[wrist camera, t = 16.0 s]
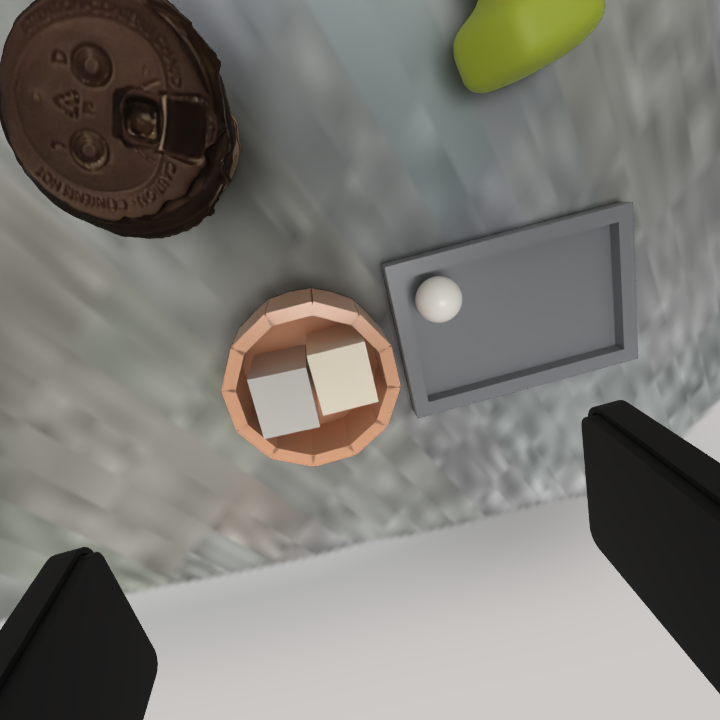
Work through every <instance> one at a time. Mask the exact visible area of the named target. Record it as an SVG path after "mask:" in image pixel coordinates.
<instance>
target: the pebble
mask: <svg viewBox="0 0 720 720" xmlns="http://www.w3.org/2000/svg"><path fill="white" fill-rule="evenodd" d="M415 303H416V308H417V310H418V312H419V313H420V315H421V316H422V317H423V318H425V319H426V320H428V321H430V322H434V323H443V322H447V321H449V320H451V319H452V318H454V317H455V316H456V315H457V314H458V312H459V311H460V309H461V306H462V292H461V290H460V288H459V286H458V285H457V284H456V283H455V282H454V281H453V280H452V279H450V278H447V277H444V276H435V277H431V278H429V279H427V280H425V281H424V282H423V283H422V284H421V285H420V286H419V288H418V290H417V292H416V296H415Z"/></svg>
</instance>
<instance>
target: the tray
mask: <svg viewBox="0 0 720 720" xmlns="http://www.w3.org/2000/svg"><path fill="white" fill-rule="evenodd" d="M381 267H382V272H383V276H384V281H385V285H386V290H387V294H388V299H389V303H390V308H391V312H392V317H393V321H394V326H395V330H396V335H397V339H398V344H399V348H400V353H401V357H402V362H403V366H404V371H405V375H406V380H407V384H408V389H409V393H410V398H411V402H412V407H413V410H414V412H415V414H416V416H417V418H421V417H424V416H428V415H432V414H435V413H439V412H443V411H446V410H450V409H454V408H457V407H461V406H465V405H468V404H472V403H476V402H479V401H483V400H487V399H490V398H494V397H498V396H501V395H505V394H509V393H512V392H516V391H520V390H523V389H527V388H531V387H534V386H538V385H542V384H545V383H549V382H553V381H556V380H560V379H564V378H567V377H571V376H575V375H579V374H582V373H586V372H590V371H593V370H597V369H601V368H604V367H608V366H612V365H615V364H619V363H623V362H626V361H630V360H634V359H637V358H638V343H637V312H636V280H635V249H634V218H633V202H615V203H612V204H608V205H604V206H600V207H596V208H593V209H589V210H585V211H581V212H577V213H573V214H570V215H566V216H562V217H558V218H554V219H550V220H547V221H543V222H539V223H535V224H531V225H528V226H524V227H520V228H516V229H512V230H508V231H505V232H501V233H497V234H493V235H489V236H485V237H482V238H478V239H474V240H470V241H466V242H463V243H459V244H455V245H451V246H447V247H443V248H440V249H436V250H432V251H428V252H424V253H420V254H417V255H413V256H409V257H405V258H401V259H398V260H394V261H390V262H386V263H382V264H381ZM435 276H444V277H447V278H450V279H452V280H453V281H454V282H455V283H456V284H457V285H458V286H459V288H460V290H461V292H462V306H461V309H460V311H459V312H458V314H457V315H456V316H455V317H454V318H452V319H451V320H449V321H447V322H443V323H434V322H430V321H428V320H426V319H425V318H423V317H422V316H421V315H420V313H419V312H418V310H417V308H416V303H415V296H416V292H417V290H418V288H419V286H420V285H421V284H422V283H423V282H424V281H425V280H427V279H429V278H431V277H435Z"/></svg>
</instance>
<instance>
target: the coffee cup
mask: <svg viewBox="0 0 720 720" xmlns="http://www.w3.org/2000/svg"><path fill="white" fill-rule="evenodd" d="M220 67H221V61H220V60H219V59H218V58H217V56H216V53H215V52H214V51H213V50H212V49H211V48H210V47H209V46H208V44H207V43H206V42H205V41H204V40H203V38H202V37H201V36H200V35H199V33H198V32H197V31H196V30H195V29H194V28H193V26H192V22H191V21H190V20H189V19H187V18H186V17H185V16H184V15H183V14H182V13H180V12H179V11H178V9H177V8H176V7H175V6H174V5H173V4H171V3H170V2H169V1H168V0H35V1H34V2H32V3H31V4H30V5H29V6H28V7H27V8H26V9H25V10H24V11H23V12H22V13H21V14H20V15H19V16H18V17H17V18H16V20H15V22H14V24H13V27H12V29H11V31H10V33H9V35H8V37H7V39H6V42H5V45H4V48H3V54H2V57H1V62H0V122H1V125H2V128H3V131H4V134H5V137H6V139H7V141H8V143H9V145H10V146H11V148H12V150H13V152H14V154H15V157H16V159H17V161H18V163H19V164H20V165H21V166H22V168H23V170H24V172H25V173H26V175H27V176H28V177H29V178H30V179H31V180H32V181H33V182H34V184H35V185H36V186H37V187H38V189H39V190H40V191H41V192H42V193H43V194H44V195H45V196H46V197H47V198H48V199H49V200H50V201H52V202H53V203H54V204H55V205H56V206H58V207H59V208H61V209H62V210H63V211H65V212H67V213H69V214H71V215H72V216H74V217H76V218H79V219H81V220H84V221H86V222H88V223H90V224H93V225H95V226H97V227H100V228H103V229H105V230H108V231H110V232H112V233H114V234H117V235H120V236H123V237H140V238H146V239H153V238H165V237H171V236H173V235H177V234H180V233H182V232H185V231H188V230H190V229H191V228H192V227H195V226H197V225H199V224H200V223H201V222H202V220H203V219H204V218H205V217H207V216H211V215H213V214H214V212H215V210H214V206H215V204H216V203H217V201H218V200H219V196H220V195H221V194H222V192H223V191H224V190H225V188H226V187H227V185H228V184H229V183H230V182H231V179H232V176H233V174H234V172H235V170H236V168H237V163H238V158H239V154H240V149H241V144H240V140H239V131H238V123H237V121H236V119H235V118H234V117H233V115H232V114H231V112H230V108H229V104H228V101H227V97H226V94H225V88H224V84H223V81H222V78H221V75H220V73H219V71H220Z"/></svg>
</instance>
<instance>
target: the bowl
mask: <svg viewBox="0 0 720 720" xmlns="http://www.w3.org/2000/svg"><path fill="white" fill-rule="evenodd" d="M344 324H348V325H352V326H353V327H354V328H355V329H356V330H357V331H358V332H359V333H360V334H361V335H362V336H363V338H364V341H365V344H366V349H367V353H368V358H369V362H370V366H371V371H372V375H373V379H374V384H375V388H376V393H377V397H378V401H379V402H376V403H372V404H368V405H364V406H360V407H356V408H352V409H348V410H344V411H340V412H336V413H332V414H328V415H324V416H323V413H322V410H321V406H320V403H319V399H318V408H319V419H320V427H317V428H313V429H308V430H304V431H299V432H295V433H290V434H286V435H281V436H277V437H272V438H268V439H264V437H263V433H262V430H261V427H260V423H259V420H258V416H257V413H256V409H255V406H254V402H253V399H252V395H251V392H250V389H249V385H248V382H247V379H248V375H249V371H250V367H251V363H252V360H253V356H254V355H257V354H261V353H266V352H271V351H276V350H280V349H285V348H290V347H294V346H299V345H304V344H305V346H306V334H308V333H312V332H316V331H320V330H324V329H328V328H332V327H336V326H340V325H344ZM315 389H316V388H315ZM399 391H400V381H399V377H398V373H397V368H396V364H395V359H394V355H393V351H392V346H391V345H390V343H389V341H388V339H387V338H386V336H385V334H384V333H383V331H382V329H381V327H380V326H379V325H378V324H377V323H376V322H375V321H374V320H373V319H372V318H371V317H370V316H369V315H368V314H367V312H366V311H365V310H363V309H362V308H361V307H360V306H359V305H358V304H357V303H356V302H355V301H354V300H352V299H351V298H348V297H344V296H342V295H340V294H337V293H334V292H330V291H325V290H319V289H314V288H311V289H310V288H307V289H302V290H295V291H290V292H287V293H284V294H281V295H279V296H277V297H273V298H269V300H267V301H266V302H265V303H264V304H263V305H262V306H260V307H259V308H258V309H257V310H256V311H255V312H254V313H253V314H252V315H251V316H250V317H249V319H248V320H247V321H246V322H245V323H244V324H243V325H242V326H241V327H240V328H239V330H238V332H237V335H236V337H235V339H234V342H233V344H232V347H231V349H230V354H229V358H228V363H227V367H226V372H225V376H224V381H223V385H222V394H223V397H224V400H225V402H226V405H227V408H228V410H229V413H230V416H231V418H232V421H233V424H234V426H235V429H236V431H237V430H238V431H237V432H238V433H239V434H240V435H242V436H243V437H244V438H245V439H247V440H248V441H249V442H250V443H252V444H253V445H254V446H255V447H257V448H258V449H259V450H260V451H262V452H263V453H264V454H265V455H267V456H268V457H269V458H270V457H271V459H276V460H281V461H286V462H291V463H297V464H302V465H307V466H312V467H313V464H314V466H318V465H322V464H325V463H329V462H333V461H336V460H340V459H344V458H347V457H351V456H354V455H355V454H357V453H359V452H360V451H361V450H362V449H363V448H364V447H365V446H366V445H367V444H369V443H370V442H371V441H372V440H373V439H374V438H375V437H376V436H377V435H379V434H380V433H381V432H382V431H383V430H384V429H385V428H386V426H388V423H389V420H390V417H391V414H392V411H393V408H394V406H395V403H396V400H397V397H398V394H399ZM316 393H317V392H316ZM317 397H318V395H317ZM354 453H355V454H354Z"/></svg>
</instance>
